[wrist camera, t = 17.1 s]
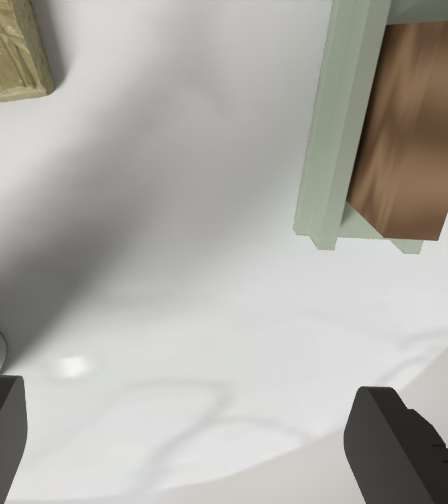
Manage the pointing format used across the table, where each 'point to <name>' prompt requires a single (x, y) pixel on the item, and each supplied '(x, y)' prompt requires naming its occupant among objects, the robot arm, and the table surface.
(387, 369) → the table surface
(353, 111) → the pale green channel holder
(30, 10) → the decorative tile
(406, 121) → the wooden picture frame
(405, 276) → the table surface
